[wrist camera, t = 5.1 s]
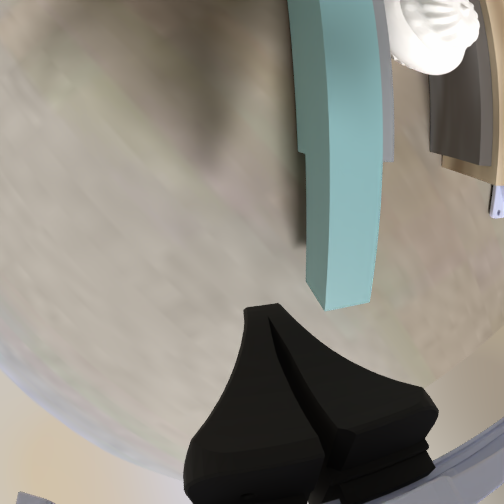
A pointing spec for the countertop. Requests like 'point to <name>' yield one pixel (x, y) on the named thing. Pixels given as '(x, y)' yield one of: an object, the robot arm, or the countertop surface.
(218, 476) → the robot arm
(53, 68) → the countertop surface
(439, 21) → the white ribbed dome
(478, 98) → the wooden block
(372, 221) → the movable jaw
